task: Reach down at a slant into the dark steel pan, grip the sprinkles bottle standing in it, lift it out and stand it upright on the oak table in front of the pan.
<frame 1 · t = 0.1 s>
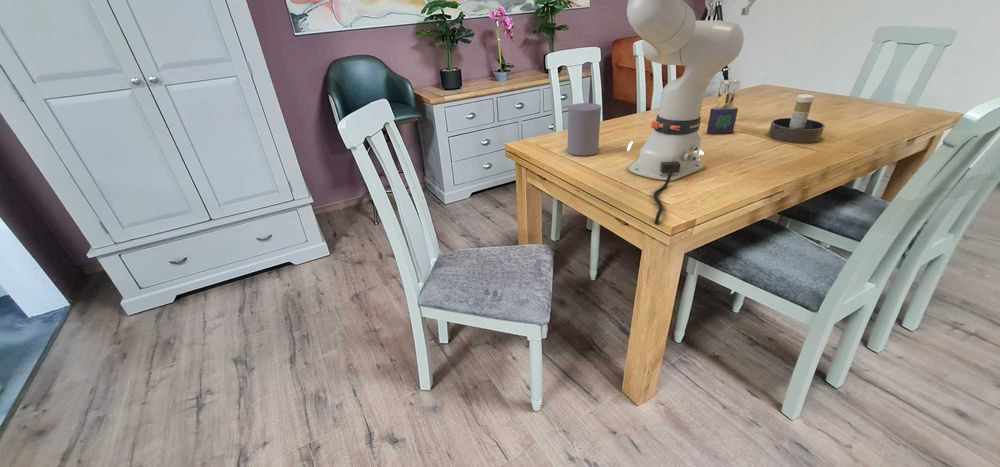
hand: (727, 15, 122), 39 cm above the table, tool pointing down, fingers open, 8 cm apart
container: (582, 152, 141), on the table
sprinkles bottle: (793, 136, 142), resting on pan
blue clover tile: (719, 133, 150), on the table
pan: (793, 136, 142), on the table
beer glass: (722, 121, 163), on the table
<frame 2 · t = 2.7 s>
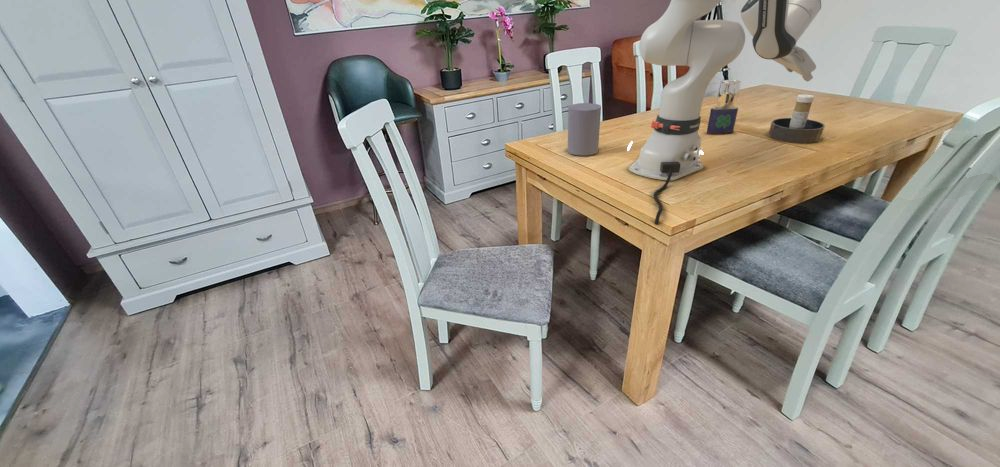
hand: (800, 74, 127), 21 cm above the table, tool tilted 45°, fingers open, 8 cm apart
nothing on the table moved.
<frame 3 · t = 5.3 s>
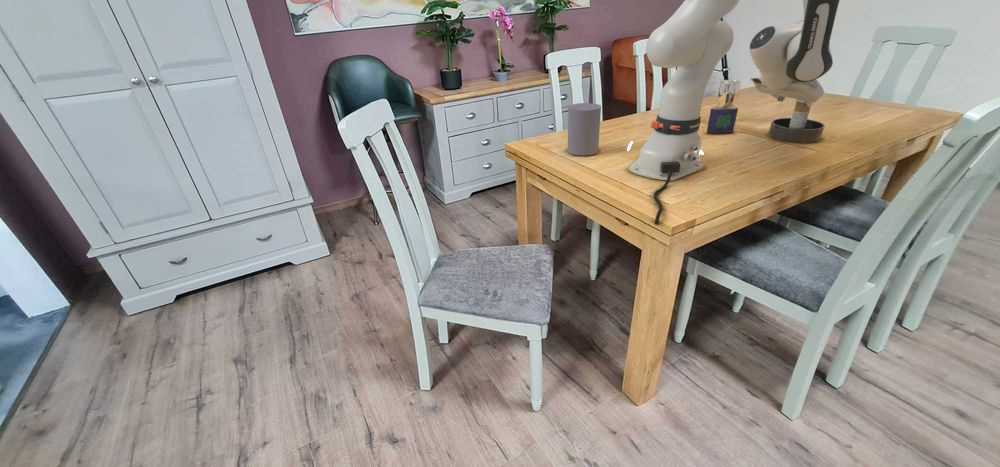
hand: (795, 102, 134), 12 cm above the table, tool tilted 45°, fingers open, 8 cm apart
nothing on the table moved.
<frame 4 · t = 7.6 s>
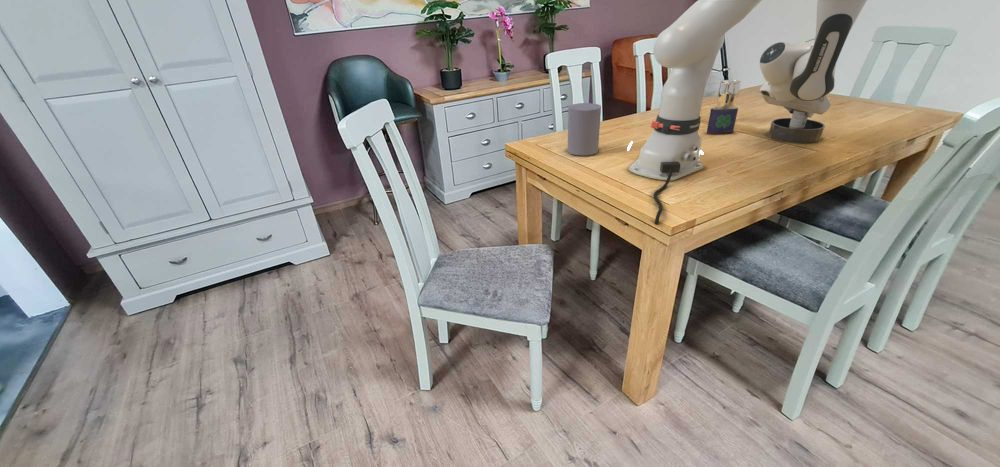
hand: (801, 113, 138), 8 cm above the table, tool tilted 45°, fingers closed on sprinkles bottle, 4 cm apart
sprinkles bottle: (793, 136, 142), resting on pan, touching gripper
everything else where it was.
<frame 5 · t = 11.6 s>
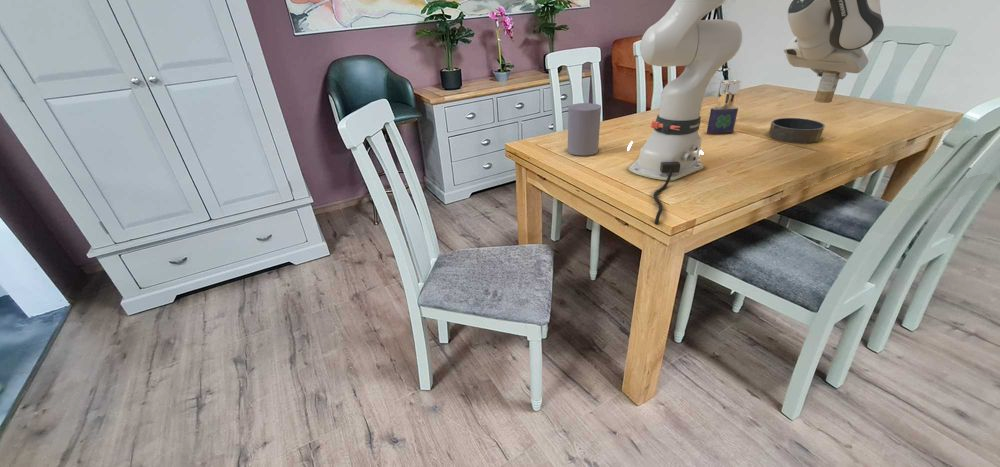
hand: (831, 76, 123), 21 cm above the table, tool tilted 45°, fingers closed on sprinkles bottle, 4 cm apart
sprinkles bottle: (822, 102, 126), point 14 cm above the table, touching gripper
everything else where it was.
when the fingers open (7 cm above the table, at t = 15.8 s): sprinkles bottle stays where it is, on the table.
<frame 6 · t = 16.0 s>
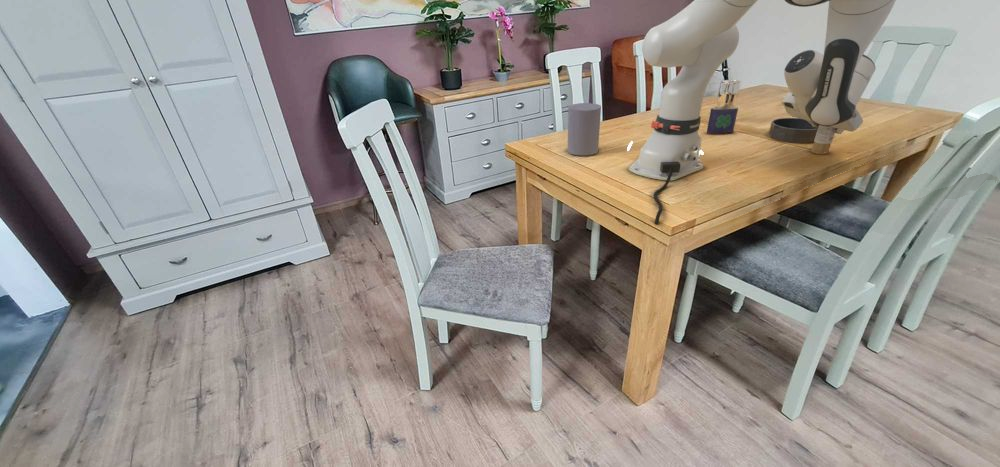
hand: (828, 128, 124), 7 cm above the table, tool tilted 45°, fingers open, 5 cm apart
sprinkles bottle: (819, 152, 128), on the table
everything else where it was.
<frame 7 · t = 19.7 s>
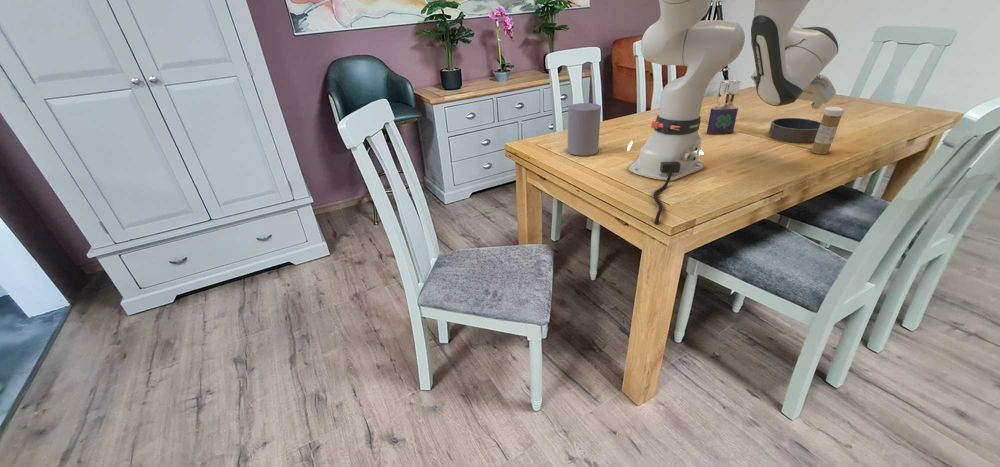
hand: (801, 103, 118), 16 cm above the table, tool tilted 45°, fingers open, 8 cm apart
nothing on the table moved.
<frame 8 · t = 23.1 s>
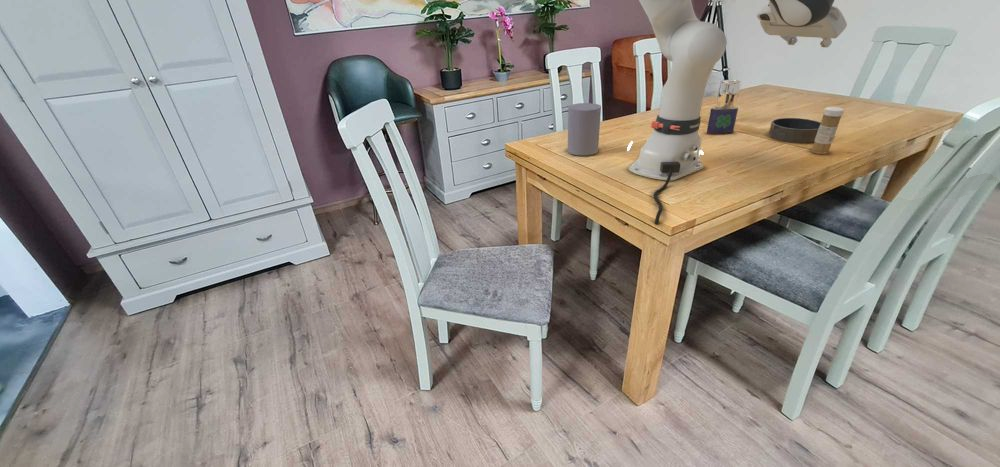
hand: (809, 44, 112), 31 cm above the table, tool tilted 45°, fingers open, 8 cm apart
nothing on the table moved.
at the end: sprinkles bottle inside the target area (0.1 cm from its centre), on the table; sprinkles bottle tilted 1°; sprinkles bottle touching table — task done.
